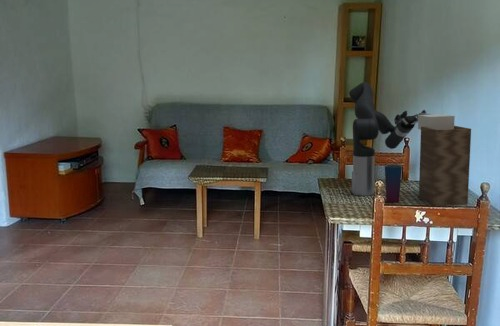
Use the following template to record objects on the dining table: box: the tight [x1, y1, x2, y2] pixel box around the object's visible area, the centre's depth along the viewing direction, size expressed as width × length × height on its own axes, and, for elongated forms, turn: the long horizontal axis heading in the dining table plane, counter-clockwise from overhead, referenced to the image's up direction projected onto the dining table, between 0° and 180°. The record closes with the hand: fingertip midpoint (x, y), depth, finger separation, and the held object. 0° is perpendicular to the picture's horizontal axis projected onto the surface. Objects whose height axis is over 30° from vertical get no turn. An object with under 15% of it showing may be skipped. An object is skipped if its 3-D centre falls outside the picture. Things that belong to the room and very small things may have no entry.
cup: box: [384, 163, 403, 204], centre depth 191 cm, size 7×7×15 cm
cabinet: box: [418, 125, 472, 206], centre depth 188 cm, size 14×14×30 cm
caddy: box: [417, 112, 456, 131], centre depth 199 cm, size 11×21×6 cm, turn 2°
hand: (415, 112), depth 215 cm, fingers open, 8 cm apart
